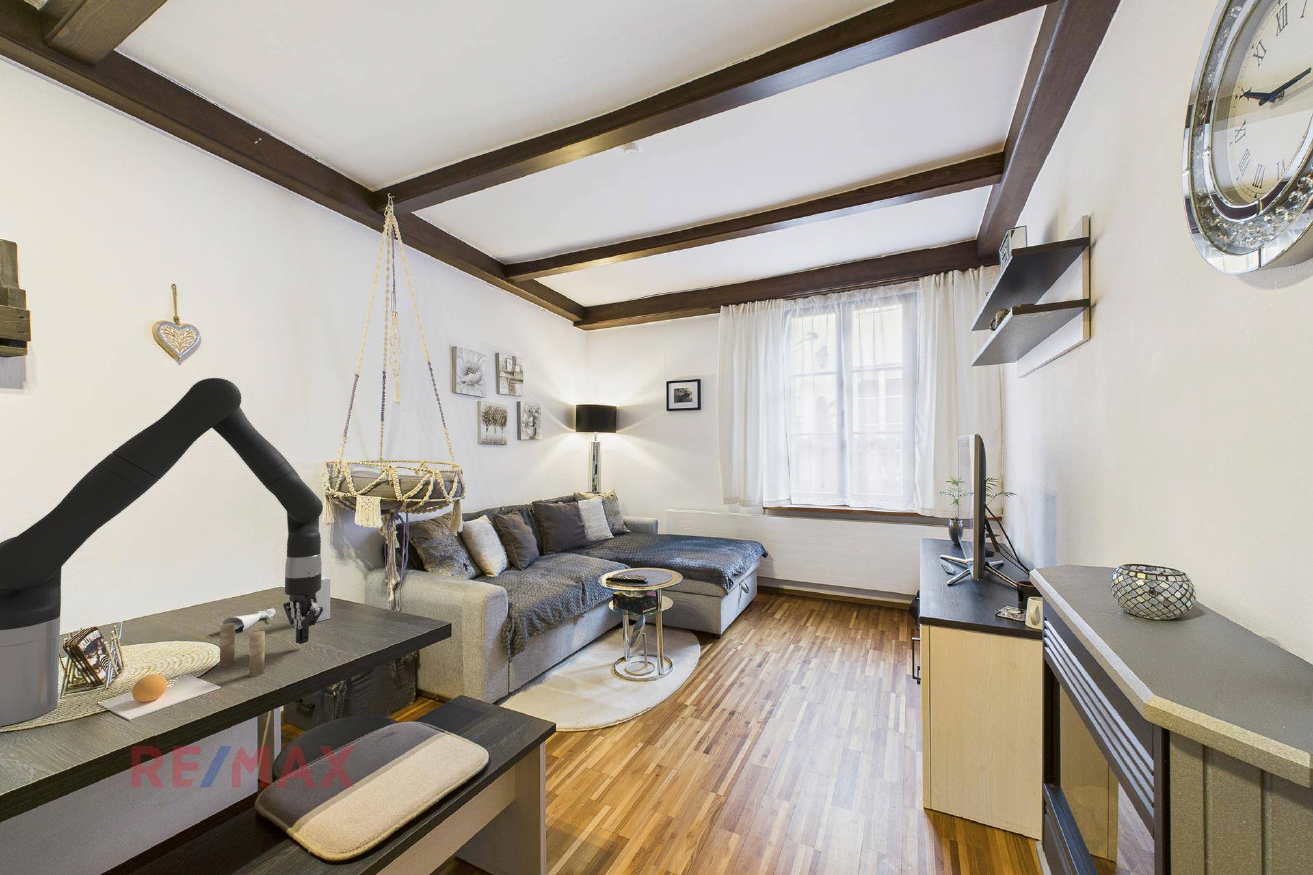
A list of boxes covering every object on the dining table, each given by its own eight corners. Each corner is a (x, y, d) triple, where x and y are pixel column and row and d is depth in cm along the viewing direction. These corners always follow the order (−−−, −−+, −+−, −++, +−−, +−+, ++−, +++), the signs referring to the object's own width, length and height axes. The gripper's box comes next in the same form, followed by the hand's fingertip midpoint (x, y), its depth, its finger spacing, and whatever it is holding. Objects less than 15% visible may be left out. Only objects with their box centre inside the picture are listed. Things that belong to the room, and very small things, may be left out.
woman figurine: (203, 619, 136) (254, 603, 154) (201, 636, 135) (253, 618, 153) (247, 619, 136) (293, 603, 154) (246, 636, 136) (292, 618, 154)
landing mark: (129, 720, 93) (129, 719, 93) (96, 703, 99) (96, 702, 99) (221, 688, 106) (221, 687, 106) (186, 675, 112) (186, 674, 112)
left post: (223, 666, 116) (224, 627, 116) (217, 664, 117) (218, 625, 118) (236, 662, 119) (237, 623, 119) (230, 660, 120) (231, 622, 120)
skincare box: (322, 616, 151) (322, 575, 152) (330, 618, 149) (331, 577, 149) (299, 622, 146) (300, 580, 146) (308, 625, 144) (309, 582, 144)
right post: (253, 677, 111) (254, 635, 111) (246, 675, 112) (247, 633, 112) (266, 672, 113) (267, 632, 114) (259, 670, 115) (260, 630, 115)
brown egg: (137, 708, 97) (140, 681, 98) (125, 703, 99) (128, 676, 100) (171, 698, 102) (173, 673, 102) (158, 694, 104) (161, 668, 104)
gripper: (271, 573, 127) (270, 643, 127) (303, 579, 121) (302, 652, 121) (303, 567, 134) (301, 633, 133) (335, 572, 128) (333, 641, 128)
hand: (302, 642), depth 127 cm, fingers closed
